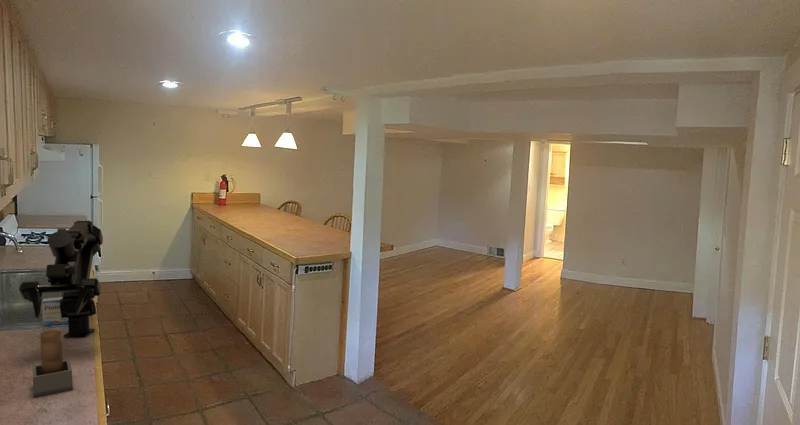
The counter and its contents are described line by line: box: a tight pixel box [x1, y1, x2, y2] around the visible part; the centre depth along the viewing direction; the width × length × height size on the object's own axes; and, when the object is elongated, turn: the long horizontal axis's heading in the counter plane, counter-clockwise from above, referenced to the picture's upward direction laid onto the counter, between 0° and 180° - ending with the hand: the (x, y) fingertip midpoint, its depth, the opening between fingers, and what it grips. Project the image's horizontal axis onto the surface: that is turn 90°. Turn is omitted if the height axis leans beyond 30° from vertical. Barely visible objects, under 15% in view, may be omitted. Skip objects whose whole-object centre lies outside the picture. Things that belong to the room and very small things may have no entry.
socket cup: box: [31, 359, 74, 398], centre depth 130 cm, size 8×8×5 cm
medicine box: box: [41, 296, 68, 327], centre depth 176 cm, size 8×4×9 cm, turn 117°
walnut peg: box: [39, 329, 64, 375], centre depth 130 cm, size 4×4×13 cm
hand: (56, 315), depth 143 cm, fingers open, 9 cm apart
